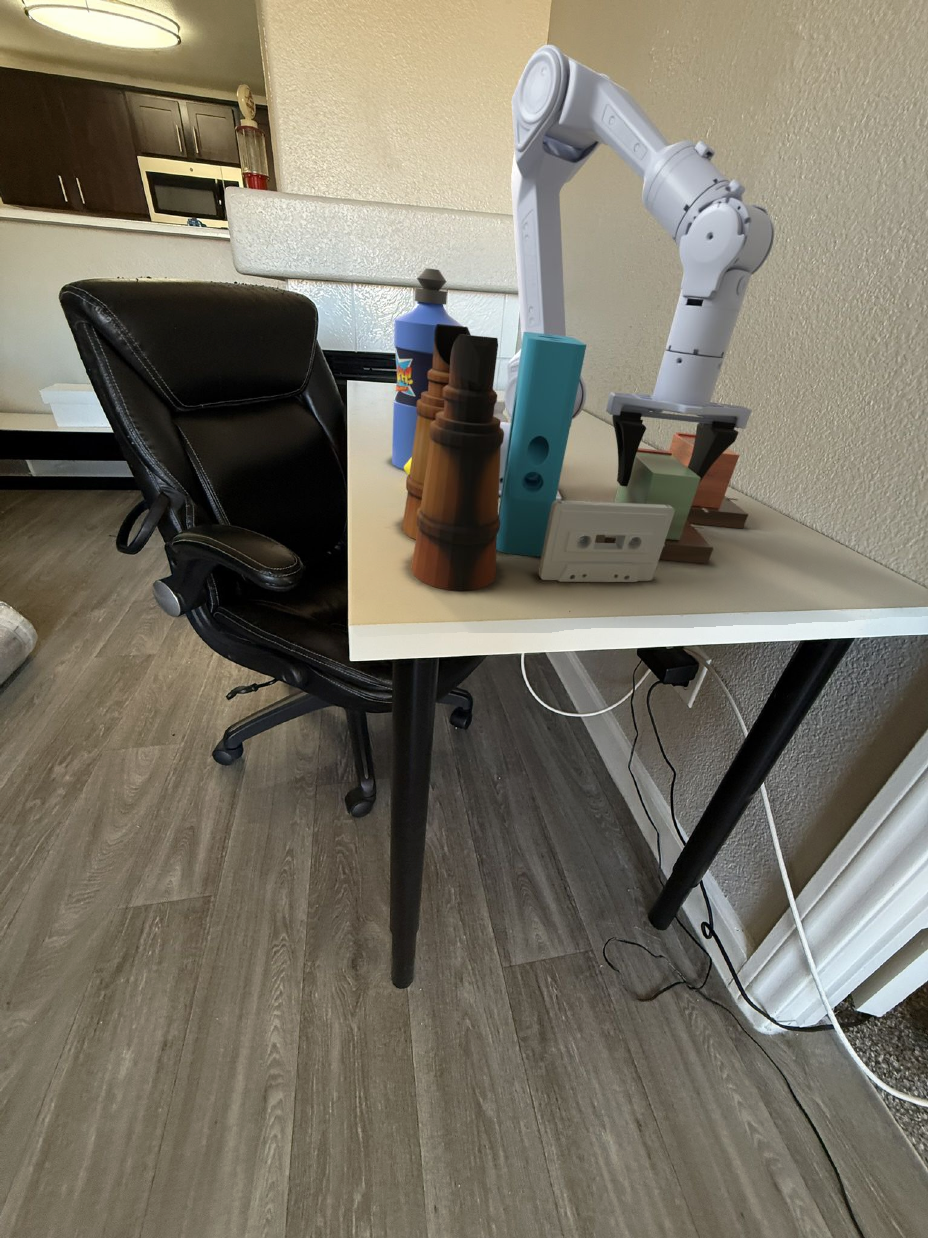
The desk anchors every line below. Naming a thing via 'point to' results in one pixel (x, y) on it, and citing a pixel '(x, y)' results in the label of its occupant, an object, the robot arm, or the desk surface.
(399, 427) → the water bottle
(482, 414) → the binoculars
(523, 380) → the block
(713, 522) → the back stand
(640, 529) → the cassette
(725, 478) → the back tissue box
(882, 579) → the desk surface
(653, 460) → the green box
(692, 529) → the front stand
